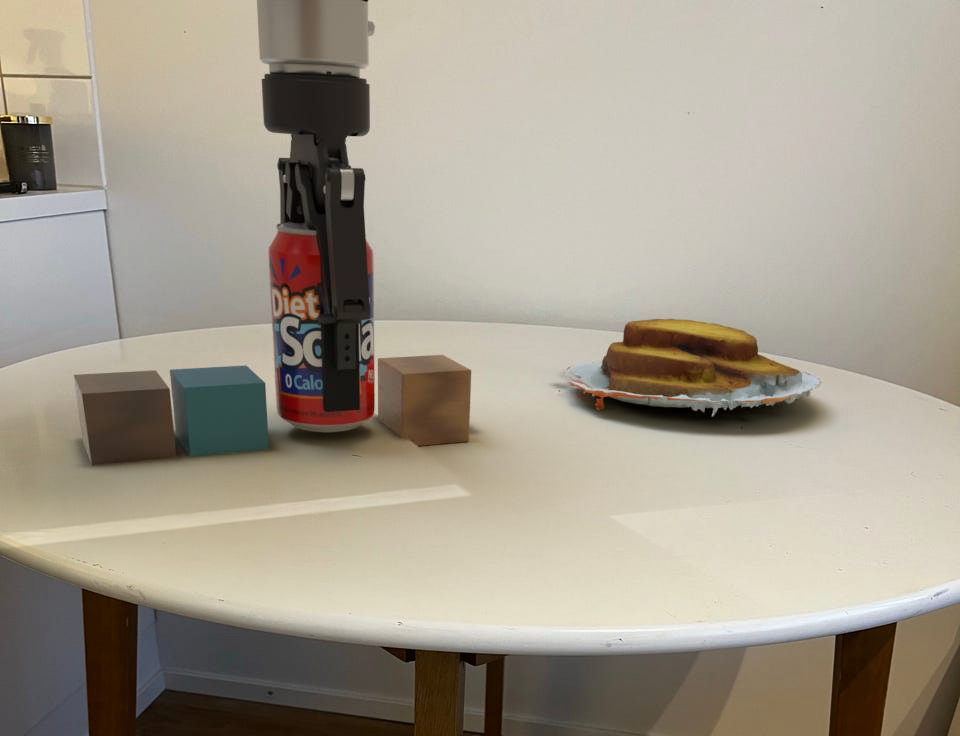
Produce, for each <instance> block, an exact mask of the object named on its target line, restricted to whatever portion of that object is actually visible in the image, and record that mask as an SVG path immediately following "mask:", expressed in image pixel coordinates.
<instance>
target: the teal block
mask: <svg viewBox="0 0 960 736" xmlns="http://www.w3.org/2000/svg"><path fill="white" fill-rule="evenodd" d="M169 376H170V387H171V388H170V389H171V398H172V405H173V407H172V408H173V416H174V418H173V420H174V426H175V427H174V428H175V429H174V430H175V437H177V439H178V440H179V442H180V443H181V445H182V447H183V448H184V449H185V451H186V452H187V454H188V455H189V457H200V456H211V455H213V456H214V455H223V454H234V453H245V452H246V453H247V452H257V451H268V450H270V444H269V441H270V440H269V425H268V424H269V423H268V405H267V390H266V389H267V388H266V382H265V381H264V380H263V379H262V378H260V377H259V376H258V375H257V374H256V373H255V372H254V371H253V370H252V369H251V368H250V367H249V366H248V365H245V364H244V365H229V366H228V365H227V366H211V367H210V366H209V367H194V368H192V367H191V368H175V369H173V368H172V369H169Z"/></svg>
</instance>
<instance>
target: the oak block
mask: <svg viewBox="0 0 960 736" xmlns="http://www.w3.org/2000/svg"><path fill="white" fill-rule="evenodd" d="M471 389H472V369H470V368H468V367H467V366H465V365H463V364H461V363H459V362H457V361H455V360H453V359H452V358H450V357H448V356H446V355H444V354H431V355H414V356H397V357H396V356H395V357H393V356H392V357H378V358H377V420H378V421H379V422H381V423H382V424H384V425H385V426H386V427H388V428H389V429H390V430H391V431H393V433H395V434H397V435H398V436H399V437H400V438H402V439H407V440H409V442H411V443H412V444H414V445H415V446H417V447H424V446H433V445H435V446H436V445H444V444H445V445H446V444H457V443H467V442H469V440H470V419H471V418H470V417H471V416H470V414H471V395H472V394H471V392H472V391H471Z"/></svg>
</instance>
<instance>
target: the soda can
mask: <svg viewBox="0 0 960 736" xmlns="http://www.w3.org/2000/svg"><path fill="white" fill-rule="evenodd" d="M276 230H277V232H276V234H275V237H274V238H273V240H272V241H271V243H270V245H269V246H268V271H269V272H268V273H269V291H270V309H271V310H270V311H271V328H272V330H271V331H272V348H273V365H274V366H273V367H274V384H275V386H274V387H275V402H276V403H275V404H276V412H277V415H278V416H279V418H281V419H282V420H283V421H285V422H286V423H288V424H290V425H292V426H293V427H294V428H297V429H299V430H303V431H307V432H314V433H340V432H345V431H351V430H354V429H356V428H358V427H360V426H361V425H362V424H364V423H366V422H368V421H369V420H371V419H372V418H373V416H374V415H375V411H376V410H375V409H376V408H375V407H376V403H375V399H376V391H375V389H376V388H375V386H376V384H375V382H376V381H375V378H376V377H375V278H374V277H375V273H374V271H375V267H374V265H375V264H374V261H375V259H374V250H373V248H372V246H371V245H370V243H369V242H368V240H367V239H366V251H367V268H368V285H369V301H370V317H369V318H368V319H362V320H361V323H359V375H360V410H349V411H335V412H325V411H324V410H323V383H322V350H321V325H318V324H317V322H316V318H317V317H318V316H319V315H320V314H325V311H324V304H323V297H322V290H321V272H320V254H319V249H318V244H317V239H316V231H315V230H311V229H308V228H307V226H306V223H293V222H288V223H277V224H276ZM344 302H348V301H344Z"/></svg>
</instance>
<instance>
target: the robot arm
mask: <svg viewBox="0 0 960 736" xmlns="http://www.w3.org/2000/svg"><path fill="white" fill-rule="evenodd" d="M256 7H257V8H256V11H257V12H256V13H257V32H258V33H257V35H258V52H259V54H258V55H259V60H260V62H261V63H262V64H264V65H268V71H269V73H264V75H263V77H264V78H261V94H262V97H261V98H262V113H263V115H262V116H263V126H264V127H265V129H266V130H267V131H268V132H269V133H274V134H284V135H290V137H291V140H290V152H289V157H278V160H277V162H276V163H277V165H276V168H277V170H278V171H277V172H278V179H279V180H278V182H279V201H280V202H279V204H280V205H279V207H280V209H279V210H280V211H279V212H280V213H279V214H280V223H288V222H293V223H306V226H307V228H308V229H311V230H315V231H316V239H317V244H318V249H319V254H320V272H321V290H322V297H323V304H324V311H325V314H320V315H319V316H318V317H317V318H316V322H317V324H318V325H321V350H322V383H323V410H324V411H325V412H335V411H349V410H360V375H359V323H361V320H362V319H368V318H369V317H370V301H369V285H368V268H367V251H366V240H367V238H366V237H367V236H366V219H365V188H366V187H365V186H366V174H365V170H364V169H363V168H362V167H358V168H357V167H352V166H351V165H350V162H349V161H350V160H349V155H348V149H347V148H348V147H347V144H346V142H347V138H348V137H364V136H366V135H368V133H369V132H370V129H371V113H370V112H371V101H370V100H371V99H370V97H371V95H370V91H371V90H370V89H371V88H370V87H371V86H370V83H368V80H367V78H363V77H361V70H365V69H366V68H367V67H368V66H369V65H370V61H369V60H370V58H369V57H370V55H369V37H373V36H374V34H375V29H376V26H375V23H374V22H373V21H371V20H369V0H256ZM280 223H279V224H280ZM344 301H348V302H344Z"/></svg>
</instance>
